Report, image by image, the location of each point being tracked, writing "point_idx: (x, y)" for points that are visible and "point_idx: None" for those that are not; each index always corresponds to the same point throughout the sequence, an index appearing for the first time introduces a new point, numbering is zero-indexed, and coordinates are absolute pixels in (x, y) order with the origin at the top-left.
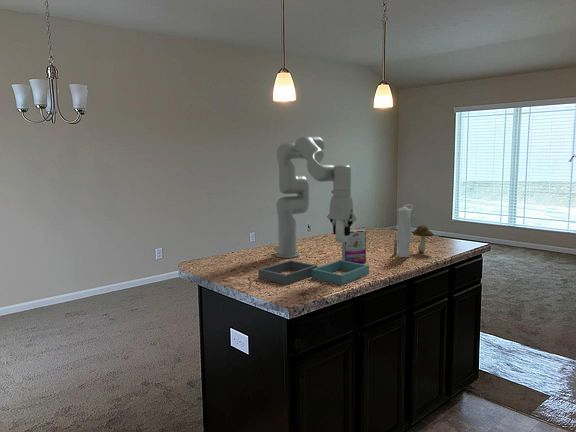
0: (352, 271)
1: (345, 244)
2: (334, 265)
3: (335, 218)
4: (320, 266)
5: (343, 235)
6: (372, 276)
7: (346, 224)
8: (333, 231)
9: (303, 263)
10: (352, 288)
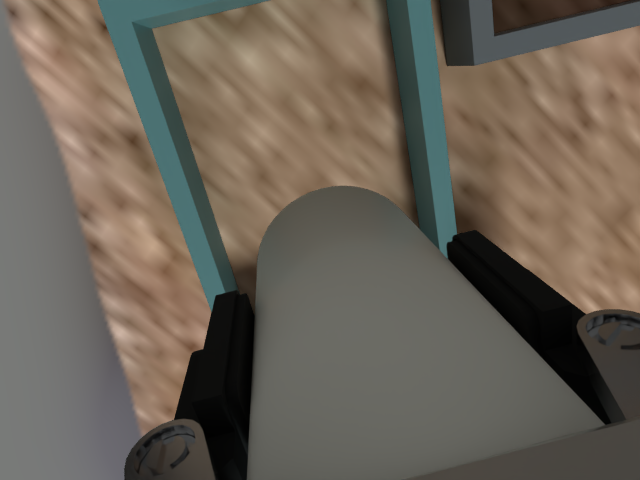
0: (163, 167)
1: None
2: (430, 223)
3: (619, 442)
4: (436, 64)
5: (261, 279)
6: (183, 316)
7: (174, 472)
8: (492, 244)
9: (602, 11)
10: (8, 10)
